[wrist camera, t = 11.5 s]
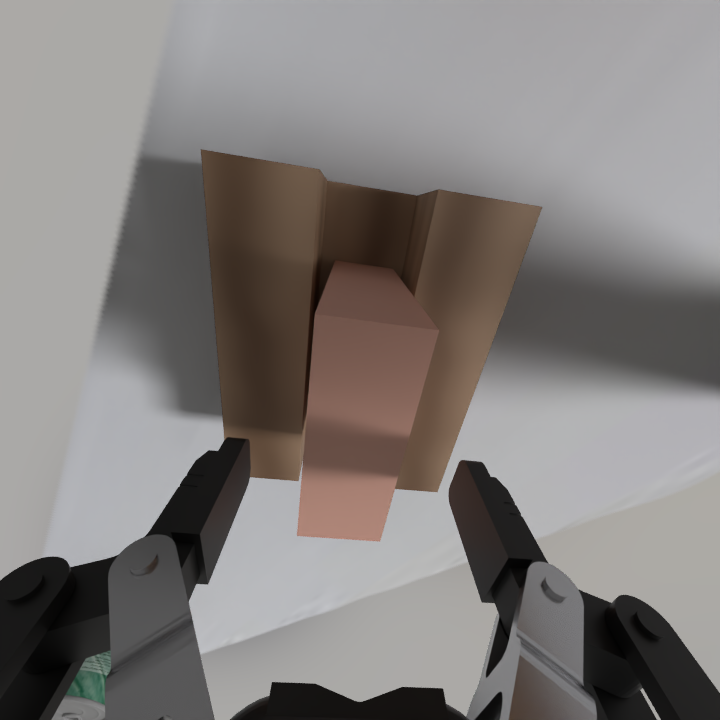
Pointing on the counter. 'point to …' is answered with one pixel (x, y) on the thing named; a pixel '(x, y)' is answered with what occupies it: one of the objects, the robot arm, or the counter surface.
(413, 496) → the counter surface
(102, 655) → the canned tomato
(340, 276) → the pink rectangular block
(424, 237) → the book stand
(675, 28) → the counter surface
